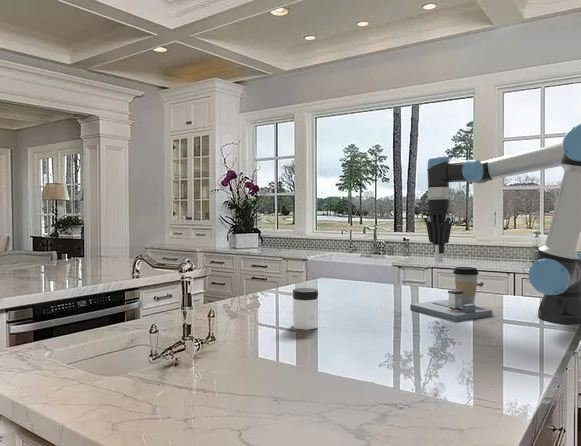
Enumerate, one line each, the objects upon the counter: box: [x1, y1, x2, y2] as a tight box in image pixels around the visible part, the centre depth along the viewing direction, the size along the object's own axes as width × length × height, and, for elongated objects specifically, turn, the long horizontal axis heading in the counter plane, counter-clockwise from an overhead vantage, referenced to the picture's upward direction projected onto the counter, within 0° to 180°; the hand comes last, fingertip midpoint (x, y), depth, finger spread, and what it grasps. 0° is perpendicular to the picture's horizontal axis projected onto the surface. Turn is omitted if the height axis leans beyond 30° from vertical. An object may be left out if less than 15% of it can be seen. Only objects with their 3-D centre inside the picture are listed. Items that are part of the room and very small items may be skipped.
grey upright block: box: [447, 289, 463, 308], centre depth 176 cm, size 3×4×6 cm
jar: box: [292, 287, 319, 331], centre depth 158 cm, size 9×8×12 cm
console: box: [409, 299, 493, 322], centre depth 179 cm, size 22×18×5 cm
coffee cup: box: [452, 266, 479, 304], centre depth 188 cm, size 9×9×15 cm
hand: (439, 262), depth 183 cm, fingers closed
